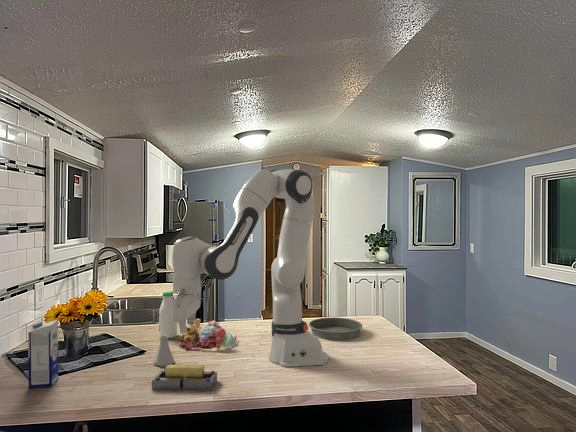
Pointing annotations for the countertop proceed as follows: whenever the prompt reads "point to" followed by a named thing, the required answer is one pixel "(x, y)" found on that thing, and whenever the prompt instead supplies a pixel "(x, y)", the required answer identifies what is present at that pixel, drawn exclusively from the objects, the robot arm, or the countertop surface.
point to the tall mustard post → (184, 371)
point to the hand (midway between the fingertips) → (187, 328)
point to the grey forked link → (201, 382)
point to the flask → (164, 353)
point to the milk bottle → (167, 316)
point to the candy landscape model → (207, 337)
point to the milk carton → (43, 354)
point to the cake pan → (335, 328)
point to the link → (166, 382)
